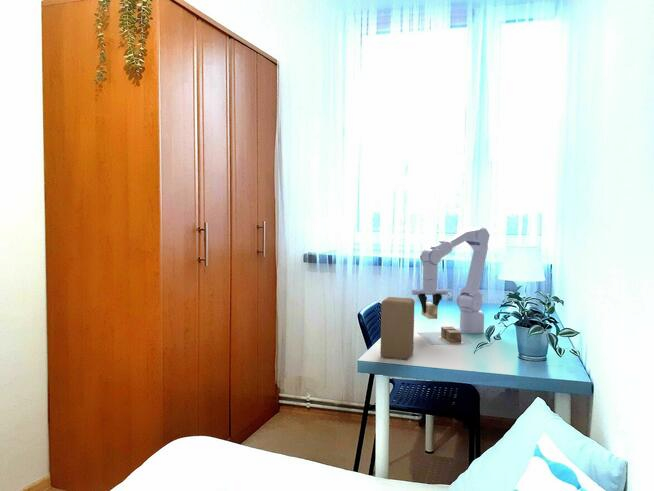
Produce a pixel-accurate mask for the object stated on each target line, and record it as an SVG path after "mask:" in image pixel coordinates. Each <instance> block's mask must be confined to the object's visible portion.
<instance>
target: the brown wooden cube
mask: <svg viewBox="0 0 654 491" xmlns="http://www.w3.org/2000/svg"><path fill="white" fill-rule="evenodd" d="M440 329H441V330H440V332H441V337H442V338H444V339H446V330H457V329H456V328H455V327H453V326H441V327H440Z"/></svg>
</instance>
